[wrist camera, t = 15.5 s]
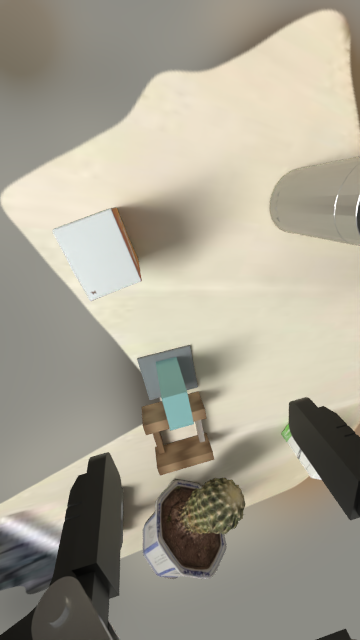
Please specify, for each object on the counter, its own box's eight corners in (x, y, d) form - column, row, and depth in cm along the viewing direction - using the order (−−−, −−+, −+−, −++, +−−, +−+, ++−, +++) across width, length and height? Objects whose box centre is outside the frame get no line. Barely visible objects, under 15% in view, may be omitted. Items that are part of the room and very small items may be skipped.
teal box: (176, 356, 48) (187, 391, 39) (182, 385, 51) (194, 423, 42) (155, 362, 48) (161, 398, 39) (162, 390, 51) (170, 430, 42)
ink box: (280, 433, 64) (310, 479, 53) (291, 418, 62) (324, 463, 51) (305, 439, 66) (338, 484, 56) (316, 425, 65) (352, 469, 54)
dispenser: (198, 391, 53) (204, 408, 49) (207, 440, 60) (214, 459, 55) (141, 406, 52) (142, 425, 48) (157, 454, 59) (159, 475, 54)
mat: (189, 345, 48) (190, 346, 48) (197, 385, 52) (197, 387, 52) (137, 358, 47) (137, 359, 47) (149, 398, 52) (149, 400, 51)
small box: (139, 259, 40) (143, 282, 28) (100, 273, 40) (89, 303, 28) (116, 205, 36) (111, 207, 25) (74, 221, 36) (49, 230, 25)
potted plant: (201, 592, 60) (288, 560, 44) (128, 587, 54) (198, 550, 39) (195, 504, 74) (260, 457, 58) (137, 493, 69) (191, 439, 53)
